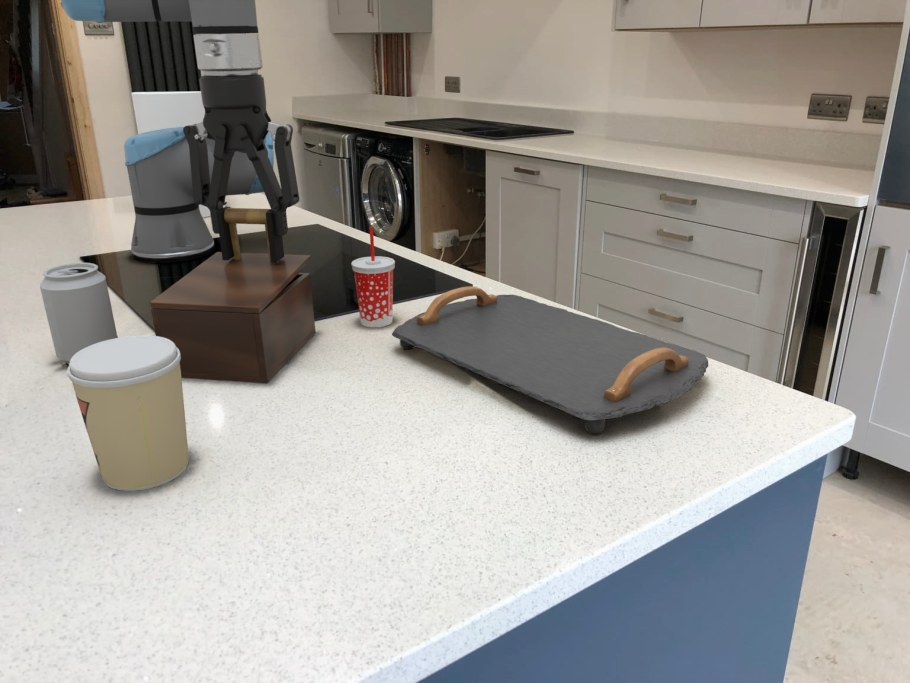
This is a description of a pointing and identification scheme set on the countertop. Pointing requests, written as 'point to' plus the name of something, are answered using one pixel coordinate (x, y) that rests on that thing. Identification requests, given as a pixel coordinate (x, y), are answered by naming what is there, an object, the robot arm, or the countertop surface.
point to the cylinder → (168, 114)
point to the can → (77, 308)
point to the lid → (234, 275)
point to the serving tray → (554, 354)
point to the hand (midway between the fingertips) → (253, 258)
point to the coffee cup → (133, 409)
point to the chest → (241, 336)
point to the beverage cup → (374, 288)
